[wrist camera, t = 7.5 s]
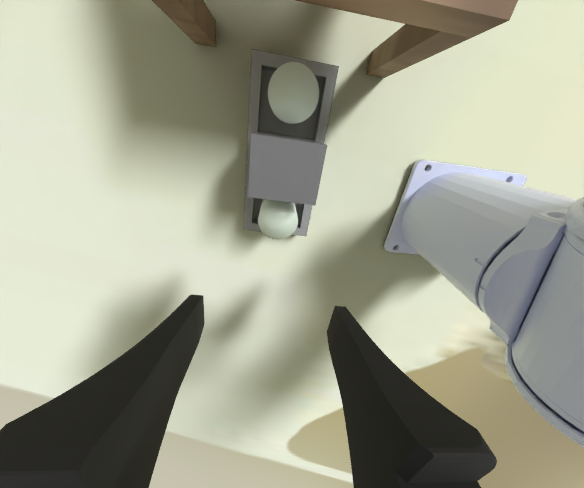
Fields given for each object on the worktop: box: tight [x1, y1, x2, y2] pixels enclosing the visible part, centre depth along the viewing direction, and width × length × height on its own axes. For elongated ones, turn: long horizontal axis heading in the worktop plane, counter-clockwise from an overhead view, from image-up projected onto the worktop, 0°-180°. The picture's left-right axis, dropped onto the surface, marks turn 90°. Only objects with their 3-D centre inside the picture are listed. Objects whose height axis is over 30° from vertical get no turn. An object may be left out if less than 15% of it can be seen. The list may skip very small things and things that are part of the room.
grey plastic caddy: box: [244, 49, 339, 239], centre depth 14 cm, size 5×11×6 cm, turn 172°
